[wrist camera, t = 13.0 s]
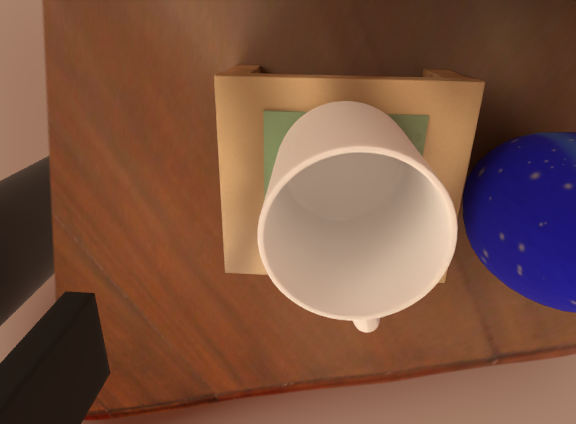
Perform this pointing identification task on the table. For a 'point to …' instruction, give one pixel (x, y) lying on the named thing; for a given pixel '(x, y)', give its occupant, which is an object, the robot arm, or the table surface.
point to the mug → (354, 216)
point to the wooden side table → (308, 95)
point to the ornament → (527, 216)
